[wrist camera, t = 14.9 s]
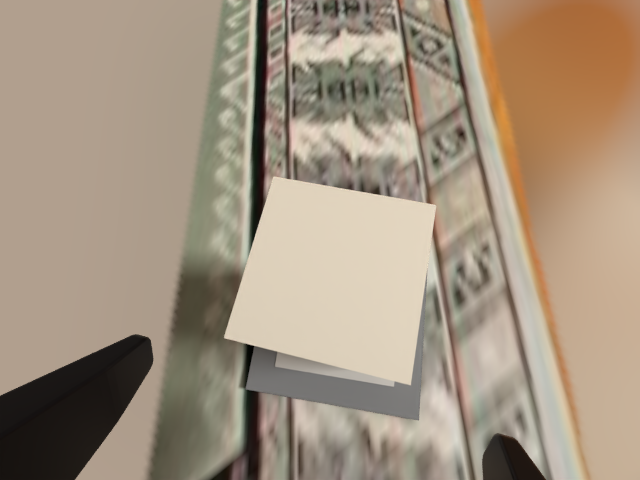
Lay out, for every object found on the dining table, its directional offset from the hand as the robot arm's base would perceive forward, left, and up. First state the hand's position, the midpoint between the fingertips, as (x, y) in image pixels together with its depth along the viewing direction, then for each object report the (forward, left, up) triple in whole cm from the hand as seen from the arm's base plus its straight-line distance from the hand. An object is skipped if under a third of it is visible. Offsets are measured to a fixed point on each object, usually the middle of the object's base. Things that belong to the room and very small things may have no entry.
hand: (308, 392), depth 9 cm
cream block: (+3, 0, -12) cm, 12 cm away
